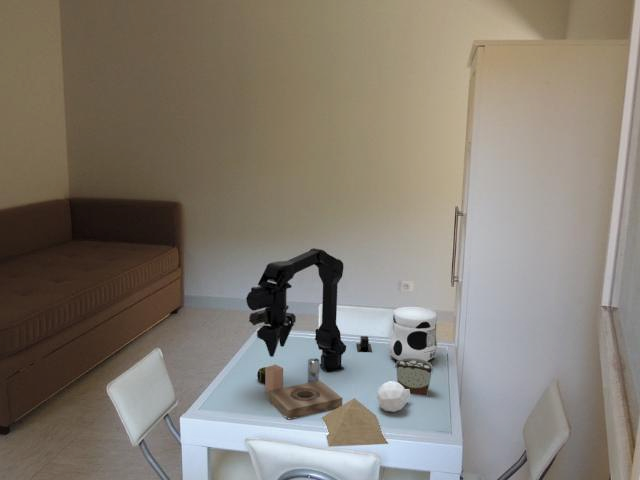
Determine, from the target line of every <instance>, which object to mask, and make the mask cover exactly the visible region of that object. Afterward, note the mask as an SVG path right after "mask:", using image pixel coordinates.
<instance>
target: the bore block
mask: <svg viewBox="0 0 640 480" xmlns="http://www.w3.org/2000/svg"><path fill="white" fill-rule="evenodd" d="M268 401H269V402H270V403H271V404H272V405H273V406H274V407H275V408H276V409H277V410H278V411H279V413H281V414H282V416H284V417H285V416H286V417H287V418H294V417H298V418H301V416H302V417H306V416H310V415H314V414H319V413H323V412H328V411H333V410H335V409H337V408H338V407H340V406H342V405H343V397H342V396H341V395H339V394H338V393H337V392H336V391H334V390H333V389H332V388H331V387H329V385H326V383H324V382H323V381H322V380H319V381H316V382H311V383H308V382H307V383H303V384H302V383H301V384H296V385H291V386H287V387H283V388H281V389H276V390H271V391H269V393H268ZM286 417H285V418H286ZM287 418H286V419H287ZM294 419H295V418H294Z"/></svg>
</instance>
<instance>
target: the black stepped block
mask: <svg viewBox="0 0 640 480" xmlns="http://www.w3.org/2000/svg"><path fill="white" fill-rule="evenodd" d="M359 342H360V343H359ZM359 342H357V343H355V344H356V349H357V353H373V349H372V345H371V343H369V336H367V335H360V341H359Z"/></svg>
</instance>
